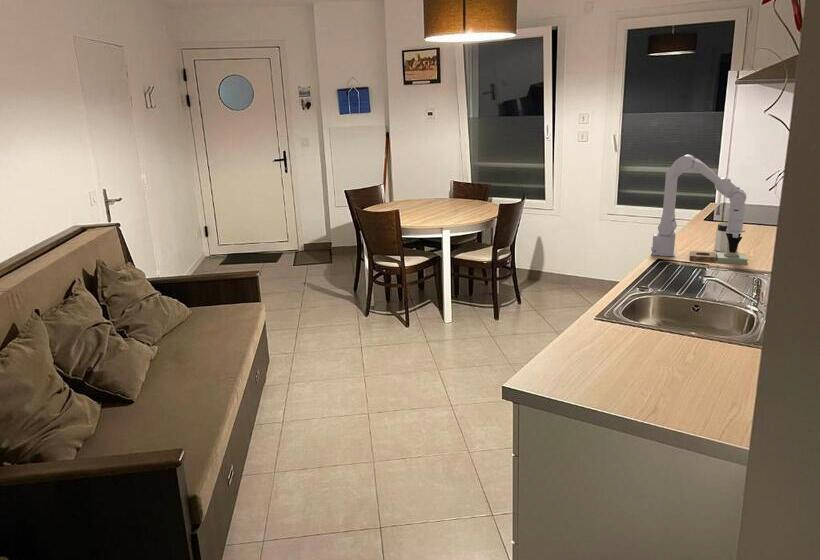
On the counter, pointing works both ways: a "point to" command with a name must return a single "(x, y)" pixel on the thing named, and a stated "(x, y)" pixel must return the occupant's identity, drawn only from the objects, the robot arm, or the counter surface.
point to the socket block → (702, 256)
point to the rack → (731, 258)
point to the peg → (727, 253)
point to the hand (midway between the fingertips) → (731, 251)
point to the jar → (721, 237)
